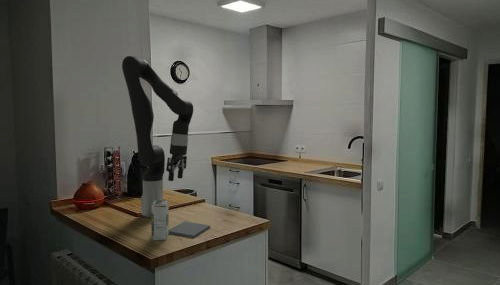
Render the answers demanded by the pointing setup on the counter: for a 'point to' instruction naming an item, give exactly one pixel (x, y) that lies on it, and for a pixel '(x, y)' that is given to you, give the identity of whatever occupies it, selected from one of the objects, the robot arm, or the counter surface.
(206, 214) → the counter surface
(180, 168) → the robot arm
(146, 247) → the counter surface
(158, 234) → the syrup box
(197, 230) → the trivet mat
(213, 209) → the counter surface
